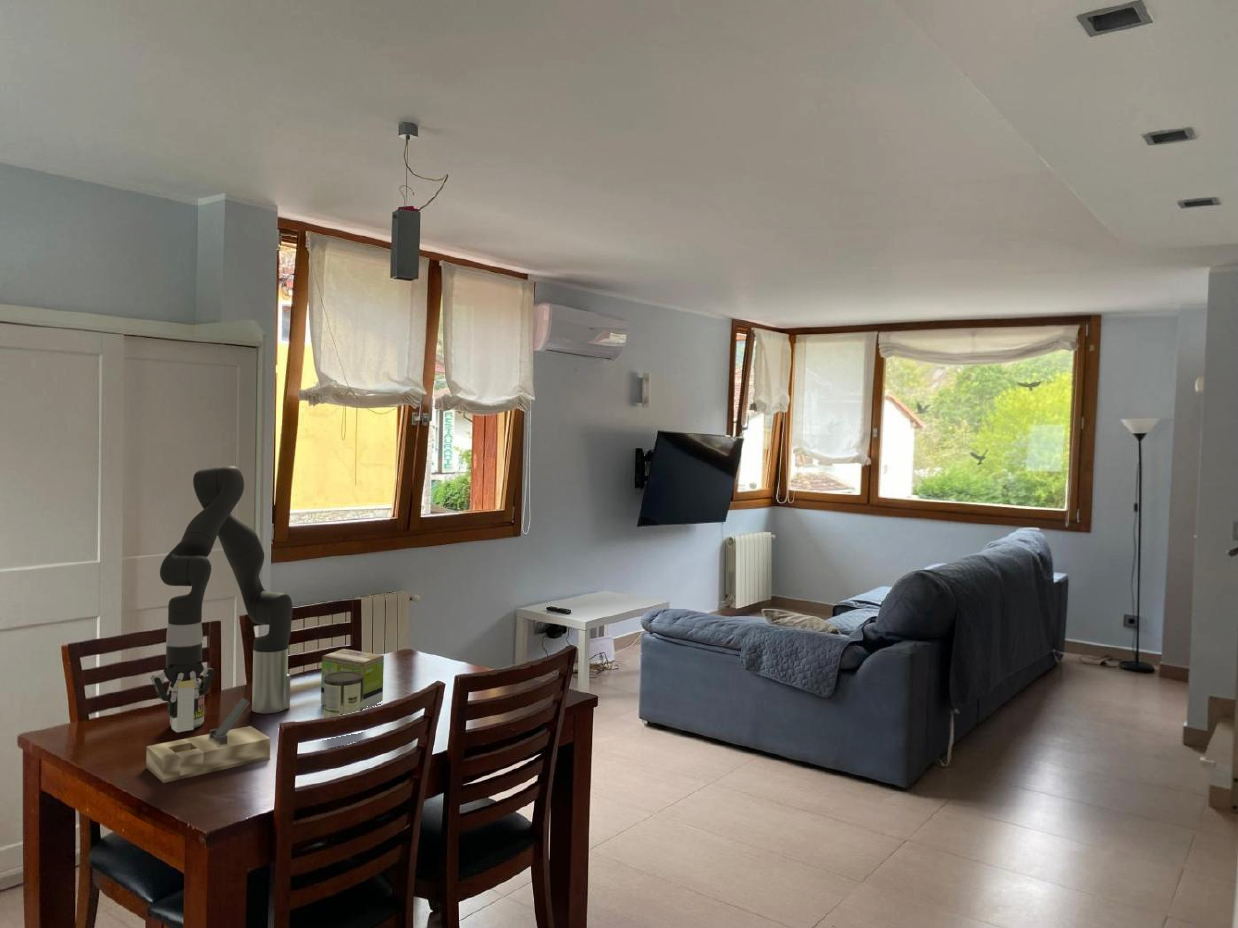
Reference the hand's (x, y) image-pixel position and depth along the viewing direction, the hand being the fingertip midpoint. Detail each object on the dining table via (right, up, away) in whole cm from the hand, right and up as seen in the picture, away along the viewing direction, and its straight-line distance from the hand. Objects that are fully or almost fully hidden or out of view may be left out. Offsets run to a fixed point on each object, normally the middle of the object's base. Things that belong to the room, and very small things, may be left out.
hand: (182, 715), depth 210 cm
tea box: (+23, -12, +54) cm, 60 cm away
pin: (0, -3, 0) cm, 3 cm away
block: (+4, -13, +5) cm, 14 cm away
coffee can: (+27, -13, +33) cm, 44 cm away
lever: (+8, -4, +8) cm, 12 cm away
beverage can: (-14, -11, +30) cm, 35 cm away
